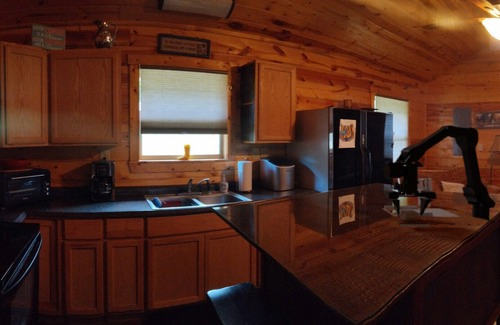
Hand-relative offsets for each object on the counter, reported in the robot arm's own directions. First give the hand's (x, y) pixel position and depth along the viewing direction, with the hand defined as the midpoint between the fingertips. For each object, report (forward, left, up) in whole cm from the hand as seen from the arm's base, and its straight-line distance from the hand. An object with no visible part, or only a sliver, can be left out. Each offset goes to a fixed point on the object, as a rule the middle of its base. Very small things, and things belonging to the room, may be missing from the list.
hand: (409, 215), depth 134 cm
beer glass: (+30, -19, -3) cm, 36 cm away
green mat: (0, 0, -3) cm, 3 cm away
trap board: (+14, -10, -3) cm, 17 cm away
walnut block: (0, 0, -2) cm, 2 cm away
